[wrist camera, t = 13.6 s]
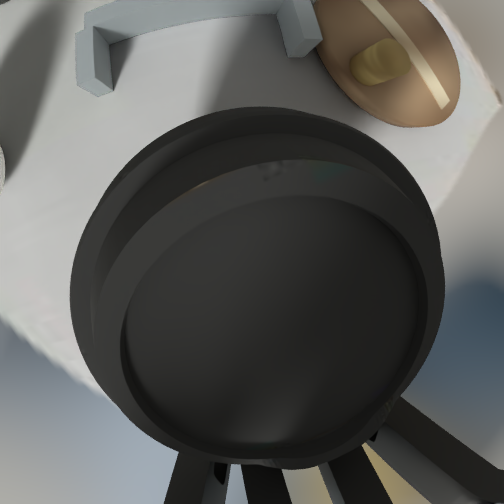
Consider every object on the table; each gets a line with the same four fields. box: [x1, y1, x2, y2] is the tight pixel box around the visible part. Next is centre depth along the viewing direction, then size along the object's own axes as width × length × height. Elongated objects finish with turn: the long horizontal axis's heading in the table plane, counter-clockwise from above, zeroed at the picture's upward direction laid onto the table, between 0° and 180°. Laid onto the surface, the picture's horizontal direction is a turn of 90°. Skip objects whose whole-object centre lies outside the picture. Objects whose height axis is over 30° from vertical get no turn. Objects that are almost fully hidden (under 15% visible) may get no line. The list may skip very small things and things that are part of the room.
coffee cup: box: [70, 107, 445, 470], centre depth 11 cm, size 9×9×15 cm
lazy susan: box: [313, 0, 460, 128], centre depth 13 cm, size 14×14×5 cm
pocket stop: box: [75, 0, 323, 97], centre depth 12 cm, size 6×14×4 cm, turn 100°
